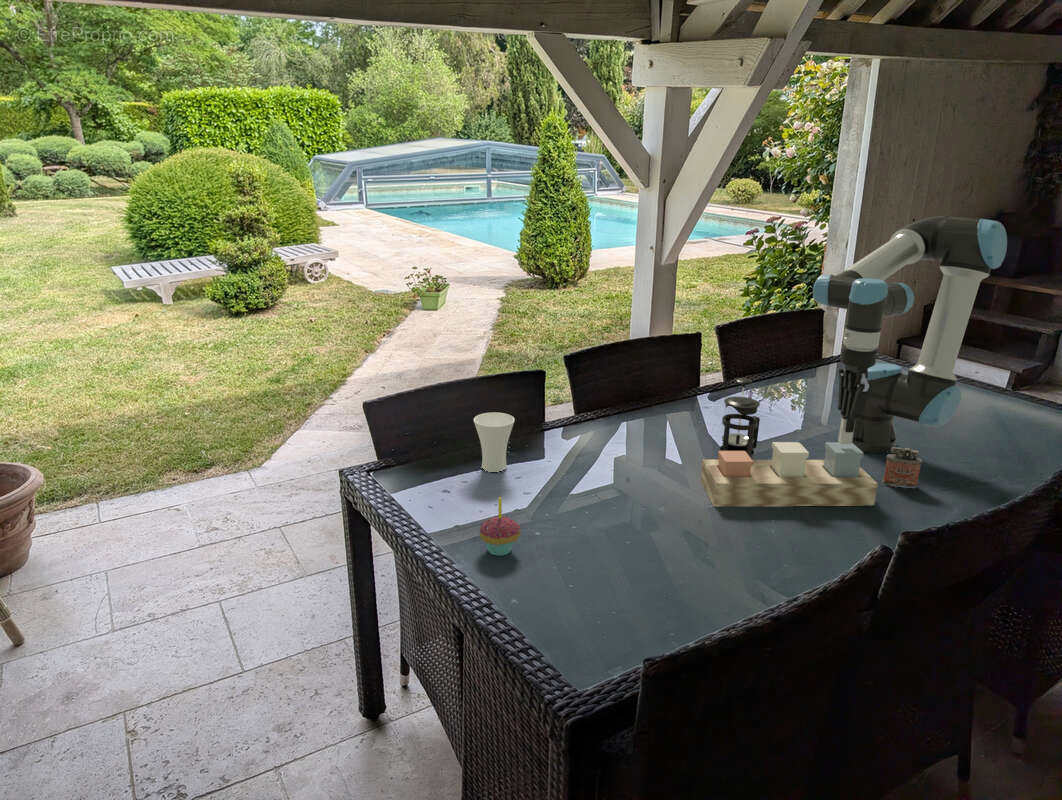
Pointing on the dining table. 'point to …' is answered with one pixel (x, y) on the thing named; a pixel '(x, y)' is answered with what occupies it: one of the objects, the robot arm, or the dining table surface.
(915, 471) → the lighter
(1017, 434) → the dining table surface
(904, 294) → the robot arm
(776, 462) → the cream key
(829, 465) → the slate key
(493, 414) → the cup
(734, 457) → the terracotta key
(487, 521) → the cupcake
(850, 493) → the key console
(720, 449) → the french press
